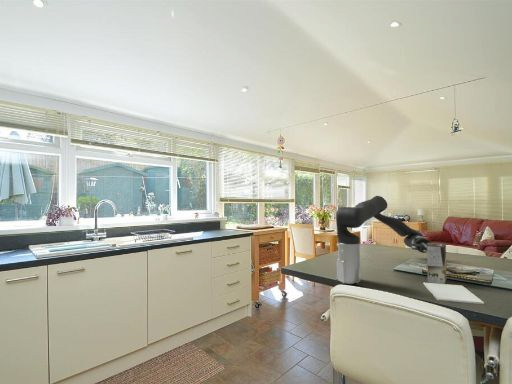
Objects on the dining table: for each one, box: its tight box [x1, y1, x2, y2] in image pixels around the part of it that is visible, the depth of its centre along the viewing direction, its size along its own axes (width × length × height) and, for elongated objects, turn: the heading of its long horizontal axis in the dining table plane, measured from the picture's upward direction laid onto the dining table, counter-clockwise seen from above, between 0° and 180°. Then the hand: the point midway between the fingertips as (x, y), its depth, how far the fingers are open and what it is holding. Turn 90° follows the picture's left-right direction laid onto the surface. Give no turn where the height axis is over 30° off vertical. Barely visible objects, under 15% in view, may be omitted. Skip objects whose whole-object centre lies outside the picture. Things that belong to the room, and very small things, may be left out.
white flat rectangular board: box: [422, 282, 485, 305], centre depth 103 cm, size 18×14×1 cm
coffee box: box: [426, 242, 448, 284], centre depth 117 cm, size 9×6×16 cm
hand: (431, 250), depth 124 cm, fingers closed
